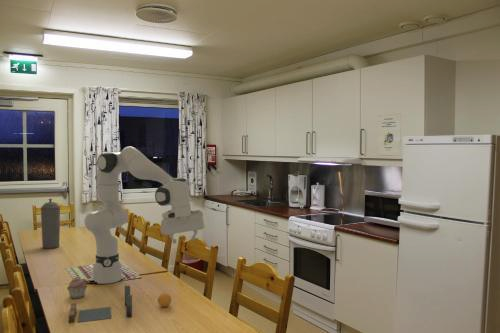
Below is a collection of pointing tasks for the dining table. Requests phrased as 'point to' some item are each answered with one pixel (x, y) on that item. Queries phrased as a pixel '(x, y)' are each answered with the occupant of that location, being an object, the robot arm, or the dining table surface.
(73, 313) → the stopper wall
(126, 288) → the post
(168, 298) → the ball
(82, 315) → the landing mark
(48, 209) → the canister
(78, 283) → the cupcake
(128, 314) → the post
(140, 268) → the dining table surface
